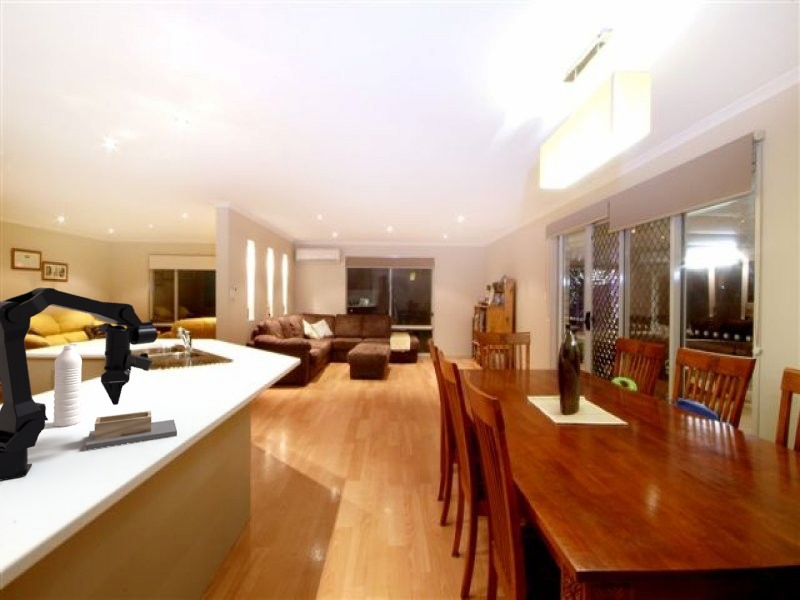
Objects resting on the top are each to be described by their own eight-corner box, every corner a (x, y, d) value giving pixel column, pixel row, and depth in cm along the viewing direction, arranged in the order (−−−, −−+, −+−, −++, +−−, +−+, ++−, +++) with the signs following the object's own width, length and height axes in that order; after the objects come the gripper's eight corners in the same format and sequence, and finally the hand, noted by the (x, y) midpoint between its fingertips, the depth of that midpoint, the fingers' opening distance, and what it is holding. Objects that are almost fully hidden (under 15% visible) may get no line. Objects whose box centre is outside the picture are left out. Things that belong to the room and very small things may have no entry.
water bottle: (75, 425, 119) (76, 345, 119) (49, 427, 117) (50, 346, 117) (87, 417, 128) (88, 342, 127) (62, 419, 125) (64, 342, 125)
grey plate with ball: (176, 435, 113) (177, 423, 113) (85, 450, 101) (85, 436, 101) (173, 424, 123) (173, 412, 123) (90, 436, 111) (90, 423, 111)
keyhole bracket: (151, 431, 112) (151, 416, 112) (94, 440, 105) (94, 424, 104) (150, 425, 117) (150, 410, 117) (96, 433, 110) (96, 417, 110)
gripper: (151, 349, 107) (150, 405, 107) (150, 341, 122) (149, 390, 123) (101, 351, 101) (100, 410, 101) (107, 343, 116) (106, 394, 116)
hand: (116, 400), depth 110 cm, fingers open, 9 cm apart
